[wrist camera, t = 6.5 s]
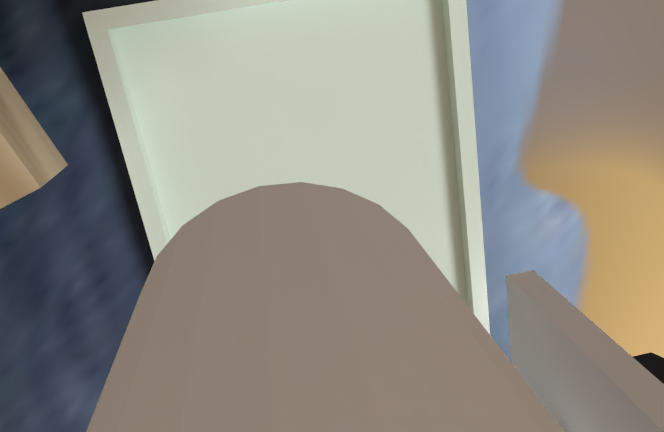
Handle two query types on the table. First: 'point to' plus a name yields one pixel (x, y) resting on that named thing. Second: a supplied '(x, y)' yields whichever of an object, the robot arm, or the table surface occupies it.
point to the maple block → (23, 148)
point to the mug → (307, 329)
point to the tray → (300, 111)
